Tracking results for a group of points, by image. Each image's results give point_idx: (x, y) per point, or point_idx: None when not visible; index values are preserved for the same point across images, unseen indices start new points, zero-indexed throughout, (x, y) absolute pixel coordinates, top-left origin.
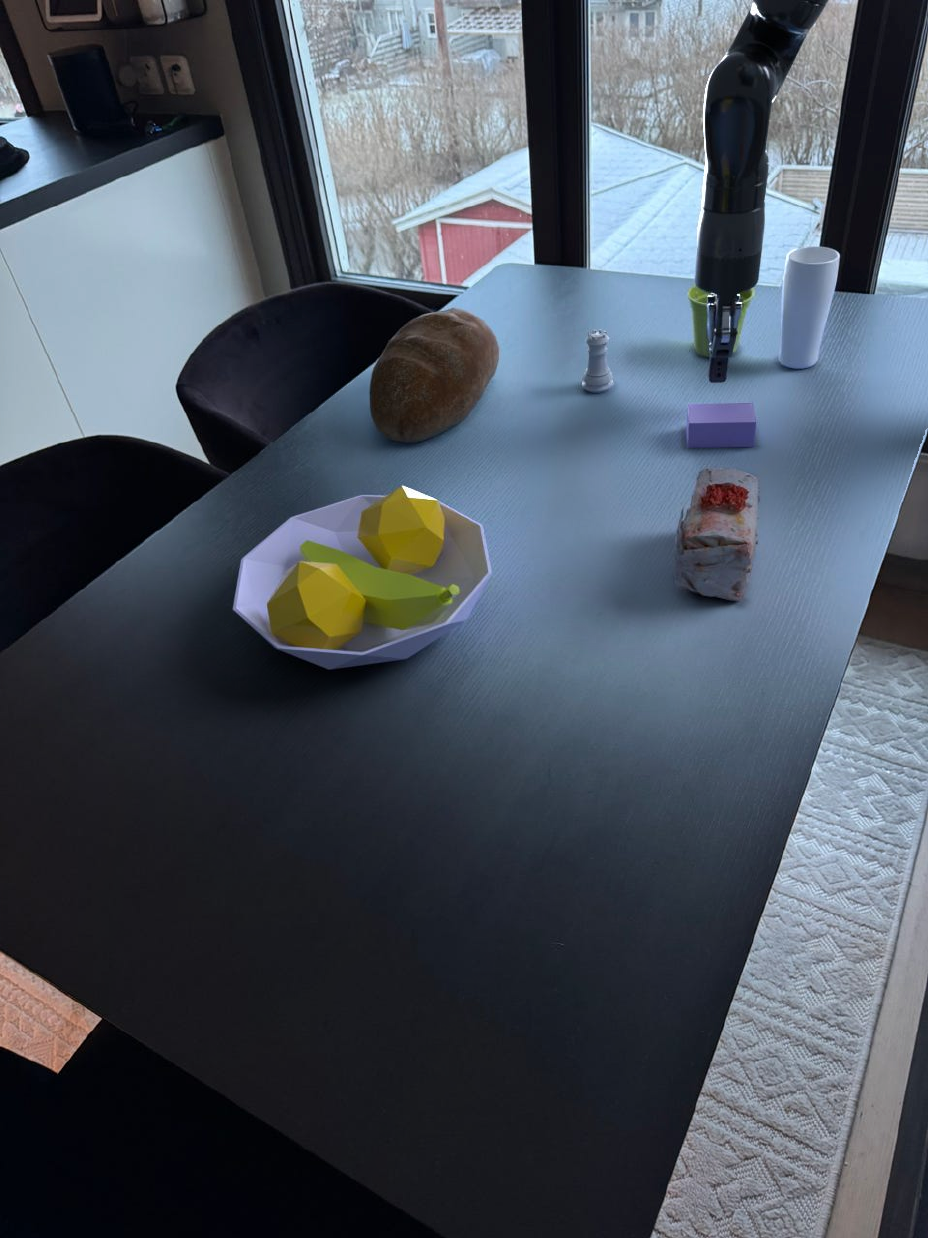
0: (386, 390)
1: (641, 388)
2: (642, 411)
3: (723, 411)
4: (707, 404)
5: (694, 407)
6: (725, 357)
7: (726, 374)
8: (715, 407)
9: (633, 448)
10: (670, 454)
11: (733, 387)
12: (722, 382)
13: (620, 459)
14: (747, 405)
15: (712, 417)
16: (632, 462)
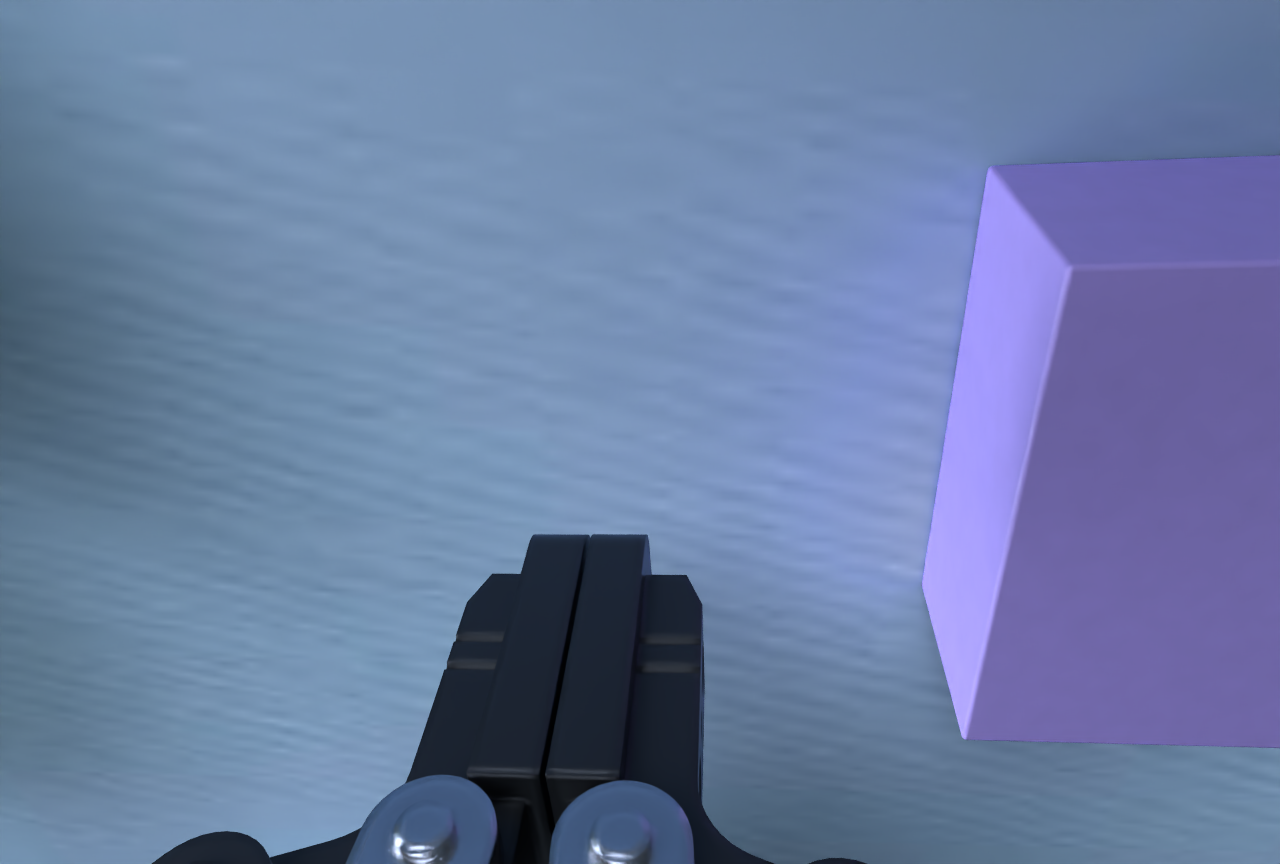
0: None
1: (392, 756)
2: None
3: (1181, 532)
4: (1006, 633)
5: (1035, 709)
6: (709, 824)
7: (640, 582)
8: (1083, 585)
9: (1106, 801)
10: None
11: (246, 270)
12: (648, 545)
13: (1210, 845)
14: (1120, 323)
15: (1274, 614)
16: (1266, 808)
